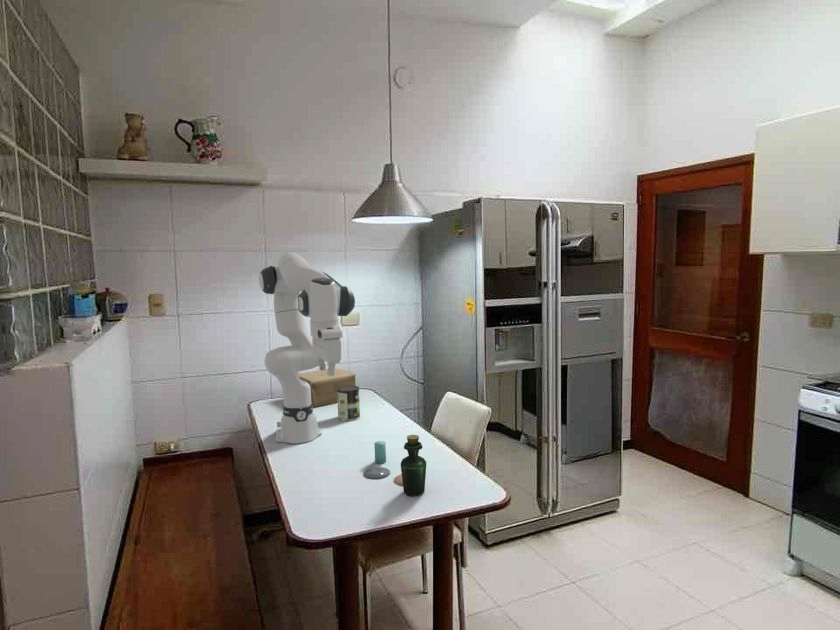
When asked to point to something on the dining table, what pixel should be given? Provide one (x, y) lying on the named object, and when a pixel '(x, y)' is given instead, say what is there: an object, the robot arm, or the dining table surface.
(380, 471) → the grey flat disc
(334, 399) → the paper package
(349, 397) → the coffee can
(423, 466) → the potion bottle
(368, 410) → the dining table surface
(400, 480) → the tan round disc
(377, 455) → the marker peg
